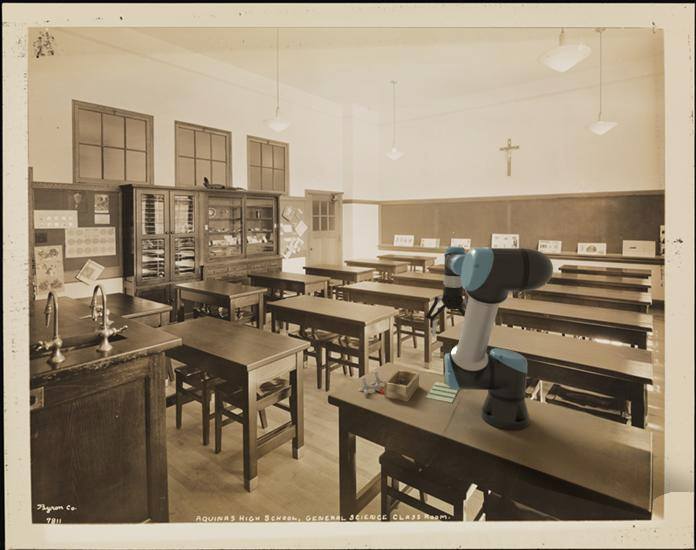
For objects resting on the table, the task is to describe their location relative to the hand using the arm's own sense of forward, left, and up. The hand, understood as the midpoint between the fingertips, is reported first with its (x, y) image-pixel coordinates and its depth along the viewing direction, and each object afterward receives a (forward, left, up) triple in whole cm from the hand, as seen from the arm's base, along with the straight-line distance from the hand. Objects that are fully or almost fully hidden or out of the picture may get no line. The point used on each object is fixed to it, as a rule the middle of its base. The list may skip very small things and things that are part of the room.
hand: (450, 338), depth 164 cm
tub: (+14, +17, -19) cm, 29 cm away
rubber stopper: (+15, +13, -19) cm, 27 cm away
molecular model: (+24, +20, -20) cm, 38 cm away
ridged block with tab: (0, +7, -19) cm, 21 cm away
